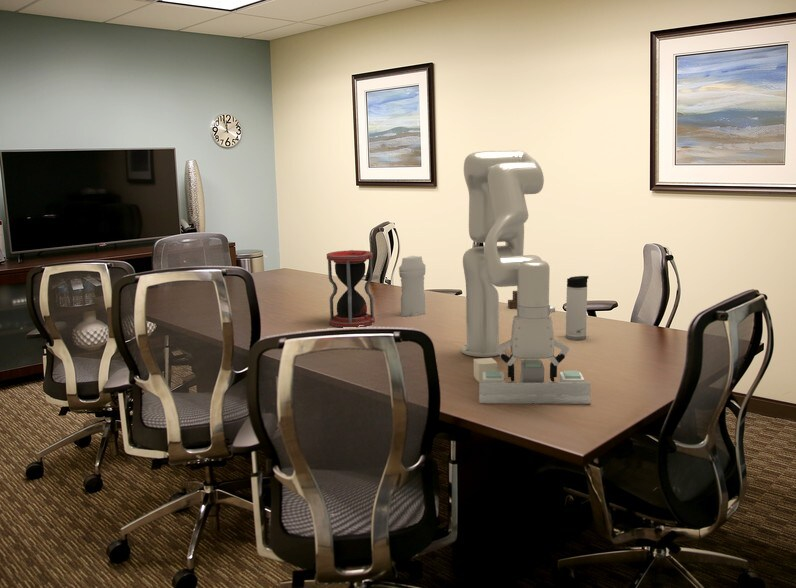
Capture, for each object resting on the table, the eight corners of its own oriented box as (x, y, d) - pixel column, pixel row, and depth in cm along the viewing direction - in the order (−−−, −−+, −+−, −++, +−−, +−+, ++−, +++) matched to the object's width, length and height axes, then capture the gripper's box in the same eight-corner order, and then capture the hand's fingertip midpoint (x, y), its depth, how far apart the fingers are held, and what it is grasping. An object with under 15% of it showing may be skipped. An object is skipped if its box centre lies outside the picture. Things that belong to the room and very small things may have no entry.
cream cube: (473, 377, 195) (473, 359, 194) (491, 375, 196) (491, 357, 195) (478, 382, 190) (478, 364, 189) (497, 381, 191) (497, 362, 190)
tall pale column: (402, 317, 265) (401, 257, 261) (398, 315, 269) (396, 256, 265) (428, 314, 269) (427, 255, 265) (423, 312, 273) (422, 253, 269)
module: (520, 390, 183) (521, 358, 181) (540, 390, 182) (541, 358, 181) (522, 400, 176) (523, 366, 174) (543, 400, 176) (544, 366, 174)
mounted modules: (482, 391, 183) (482, 369, 182) (579, 391, 181) (580, 369, 180) (483, 399, 177) (483, 377, 176) (583, 399, 175) (584, 377, 174)
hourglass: (373, 327, 251) (371, 255, 246) (327, 328, 252) (323, 257, 247) (376, 317, 267) (373, 249, 262) (332, 318, 267) (329, 250, 262)
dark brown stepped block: (531, 303, 286) (532, 286, 284) (540, 312, 271) (540, 294, 270) (493, 305, 285) (493, 287, 284) (500, 313, 270) (500, 295, 269)
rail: (479, 400, 176) (479, 380, 175) (588, 400, 174) (589, 380, 173) (479, 403, 174) (479, 383, 173) (590, 403, 172) (590, 383, 171)
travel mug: (583, 341, 227) (584, 278, 223) (562, 338, 230) (564, 276, 226) (589, 336, 232) (591, 274, 228) (569, 334, 235) (571, 273, 232)
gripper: (567, 308, 178) (565, 375, 181) (495, 308, 179) (495, 375, 183) (571, 315, 171) (570, 385, 174) (497, 315, 172) (497, 384, 176)
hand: (532, 379), depth 178 cm, fingers open, 9 cm apart
